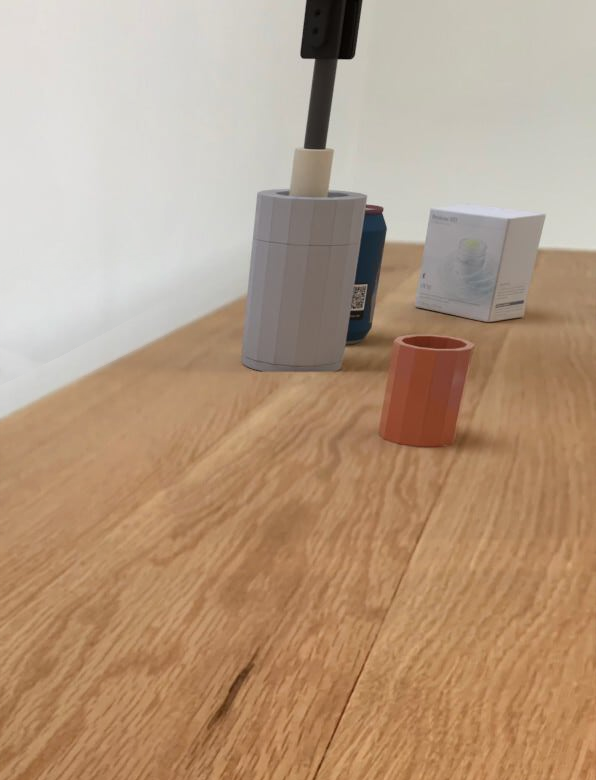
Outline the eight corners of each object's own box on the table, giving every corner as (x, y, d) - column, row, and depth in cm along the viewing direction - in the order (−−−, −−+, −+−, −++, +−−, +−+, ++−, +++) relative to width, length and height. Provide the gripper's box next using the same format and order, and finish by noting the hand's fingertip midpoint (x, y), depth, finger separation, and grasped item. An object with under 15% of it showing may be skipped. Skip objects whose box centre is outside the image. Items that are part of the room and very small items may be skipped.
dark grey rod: (317, 225, 97) (352, -25, 87) (327, 230, 94) (364, -27, 85) (281, 224, 97) (312, -26, 87) (290, 229, 94) (322, -28, 84)
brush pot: (437, 432, 82) (457, 334, 79) (464, 453, 78) (485, 350, 74) (369, 433, 82) (385, 334, 78) (391, 453, 77) (409, 350, 74)
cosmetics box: (410, 307, 126) (428, 205, 120) (449, 302, 129) (467, 203, 123) (486, 323, 118) (509, 215, 113) (525, 317, 121) (549, 212, 116)
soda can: (287, 332, 113) (303, 202, 107) (349, 330, 114) (368, 202, 108) (316, 347, 107) (335, 210, 101) (382, 344, 109) (404, 209, 102)
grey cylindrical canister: (326, 353, 105) (349, 189, 98) (353, 375, 97) (380, 199, 90) (232, 353, 105) (248, 188, 97) (252, 375, 97) (271, 198, 90)
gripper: (358, -274, 72) (317, 58, 82) (462, -230, 82) (415, 60, 92) (260, -256, 76) (232, 57, 86) (370, -217, 86) (334, 59, 96)
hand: (327, 57), depth 89 cm, fingers closed on dark grey rod
